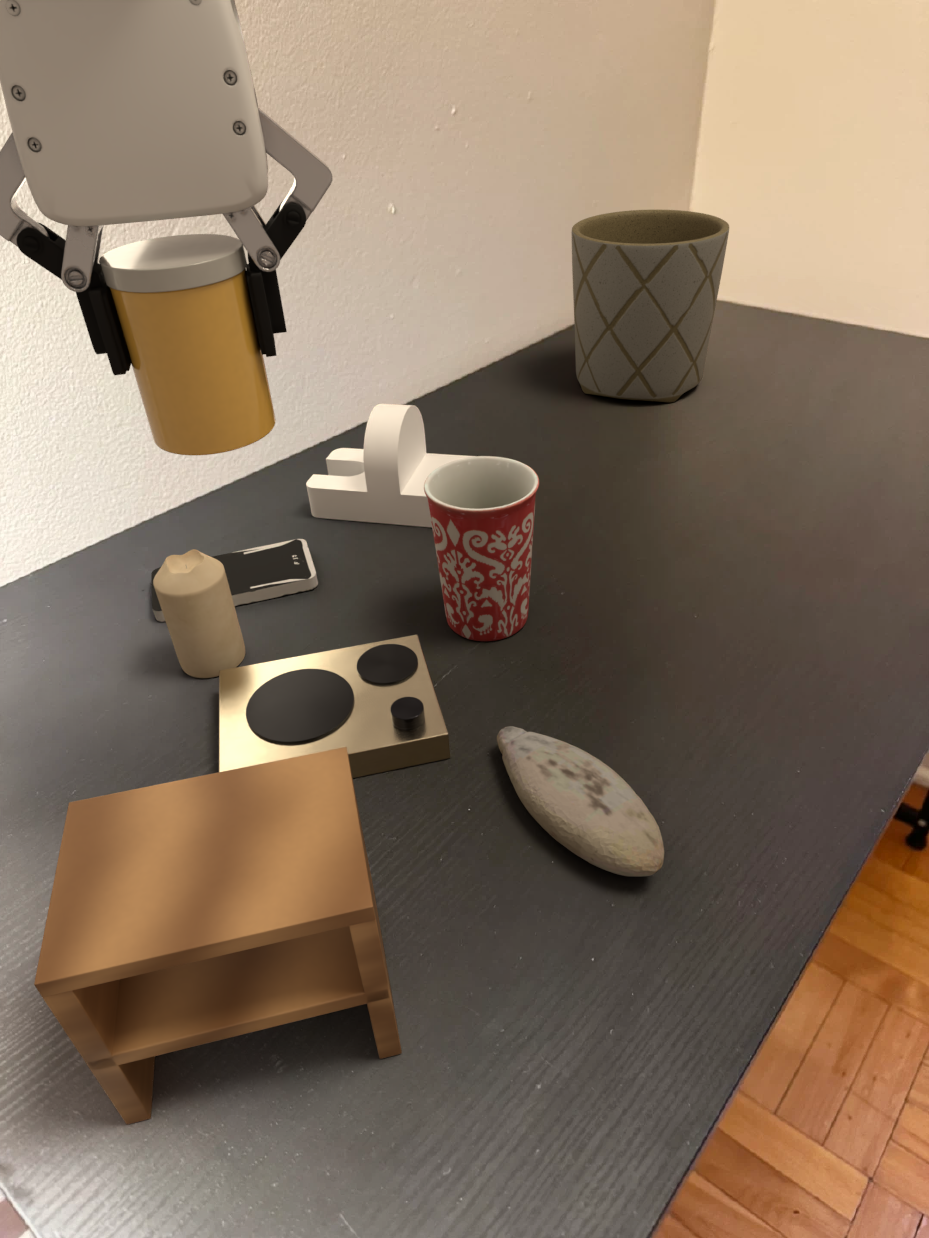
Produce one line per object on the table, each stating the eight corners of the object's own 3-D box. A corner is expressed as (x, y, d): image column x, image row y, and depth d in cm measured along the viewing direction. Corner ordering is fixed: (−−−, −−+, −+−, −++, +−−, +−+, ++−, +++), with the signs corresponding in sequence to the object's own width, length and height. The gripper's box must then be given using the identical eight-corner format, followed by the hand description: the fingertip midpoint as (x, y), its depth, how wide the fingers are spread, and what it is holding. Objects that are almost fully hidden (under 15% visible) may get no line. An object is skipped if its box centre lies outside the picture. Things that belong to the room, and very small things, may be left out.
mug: (508, 661, 69) (504, 519, 61) (416, 631, 73) (401, 493, 65) (573, 584, 78) (577, 450, 70) (487, 560, 82) (482, 431, 74)
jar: (146, 464, 42) (89, 276, 36) (156, 414, 47) (107, 242, 42) (280, 446, 43) (243, 259, 37) (275, 398, 48) (242, 228, 43)
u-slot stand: (470, 530, 86) (465, 432, 80) (308, 517, 90) (290, 422, 84) (491, 486, 94) (487, 393, 87) (339, 476, 98) (326, 386, 91)
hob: (226, 804, 59) (214, 767, 56) (225, 693, 68) (215, 658, 66) (450, 758, 61) (447, 721, 59) (420, 657, 70) (416, 622, 68)
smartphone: (151, 569, 81) (305, 537, 84) (155, 580, 82) (307, 548, 85) (152, 612, 75) (317, 577, 79) (156, 624, 76) (319, 588, 79)
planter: (590, 353, 126) (595, 207, 114) (720, 364, 119) (740, 211, 108) (550, 401, 112) (551, 241, 100) (695, 417, 106) (715, 248, 94)
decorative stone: (532, 728, 63) (532, 694, 61) (694, 860, 53) (700, 824, 51) (467, 767, 60) (465, 733, 58) (625, 914, 50) (628, 879, 48)
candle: (167, 673, 70) (133, 574, 64) (202, 634, 75) (173, 537, 69) (225, 683, 69) (195, 583, 63) (258, 643, 73) (233, 545, 67)
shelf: (126, 1125, 42) (33, 984, 34) (141, 948, 50) (68, 801, 42) (402, 1053, 44) (373, 906, 36) (374, 895, 52) (346, 746, 44)
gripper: (307, -108, 36) (358, 315, 47) (-128, -90, 34) (31, 353, 44) (322, -130, 30) (377, 360, 41) (-205, -110, 28) (1, 407, 38)
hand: (196, 353), depth 43 cm, fingers closed on jar, 6 cm apart
